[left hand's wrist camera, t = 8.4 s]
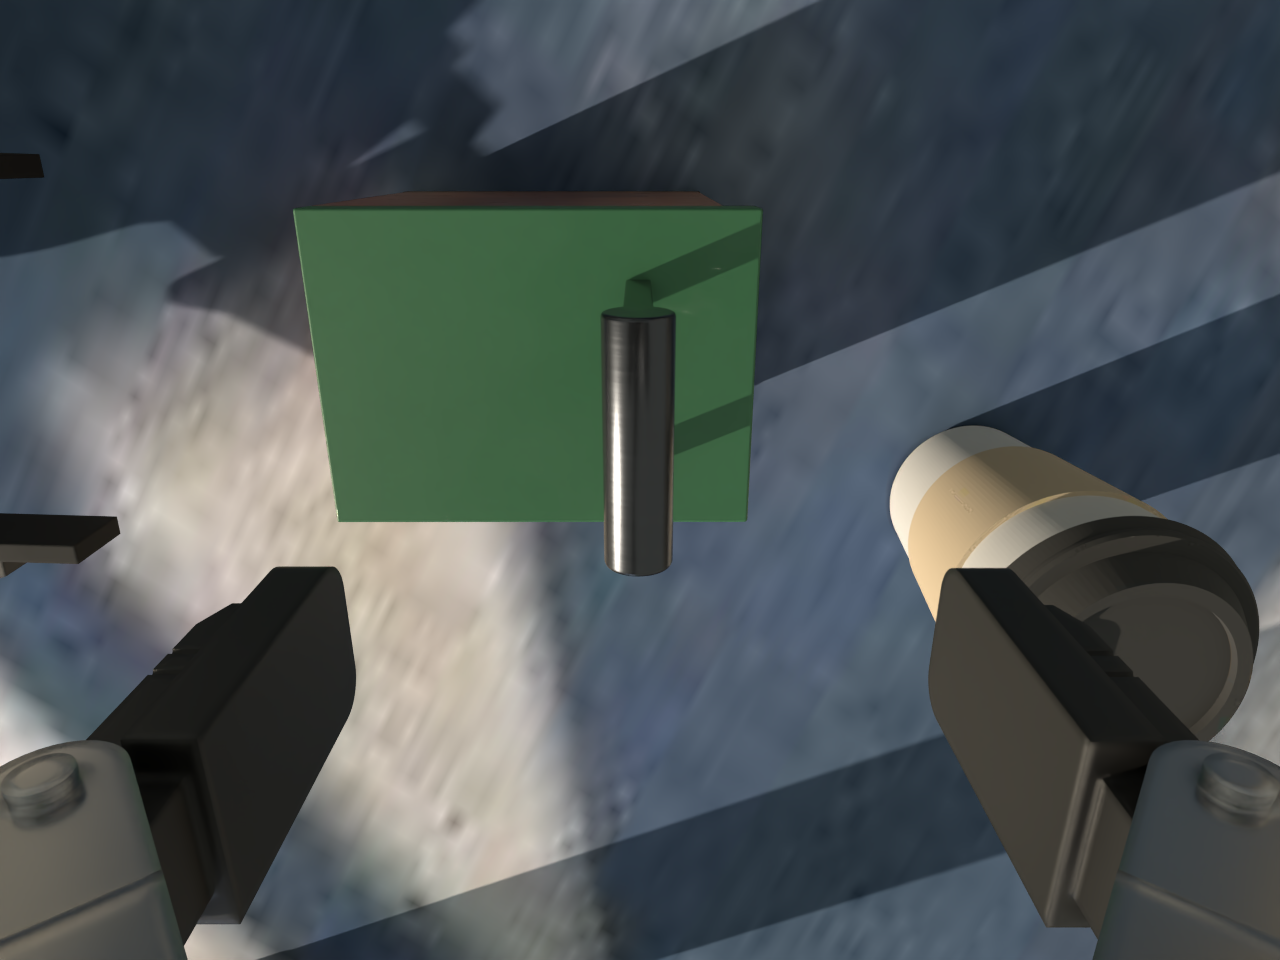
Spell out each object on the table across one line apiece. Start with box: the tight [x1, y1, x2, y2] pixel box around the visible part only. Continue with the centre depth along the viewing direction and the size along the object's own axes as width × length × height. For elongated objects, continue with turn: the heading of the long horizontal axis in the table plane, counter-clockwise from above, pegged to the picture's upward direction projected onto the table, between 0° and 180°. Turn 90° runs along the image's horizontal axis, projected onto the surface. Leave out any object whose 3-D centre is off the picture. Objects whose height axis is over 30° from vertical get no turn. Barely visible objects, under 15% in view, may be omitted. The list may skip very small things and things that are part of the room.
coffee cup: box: [890, 426, 1259, 742], centre depth 31 cm, size 9×9×15 cm
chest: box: [313, 191, 722, 206], centre depth 30 cm, size 12×9×11 cm
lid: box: [293, 206, 763, 576], centre depth 21 cm, size 13×9×8 cm
